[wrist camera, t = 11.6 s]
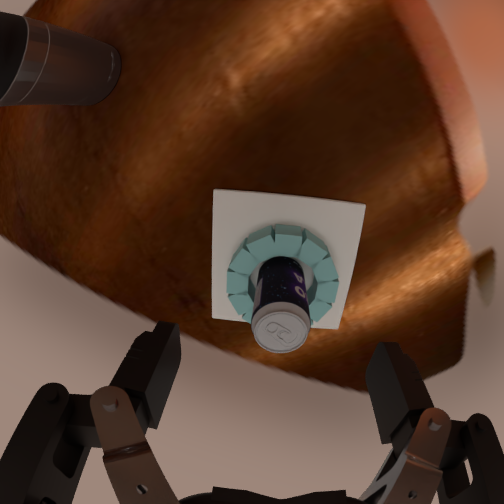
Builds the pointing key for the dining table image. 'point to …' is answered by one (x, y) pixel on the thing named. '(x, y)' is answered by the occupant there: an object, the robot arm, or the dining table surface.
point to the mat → (271, 213)
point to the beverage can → (280, 306)
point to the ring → (290, 245)
